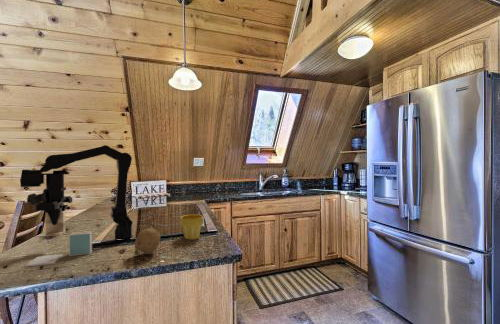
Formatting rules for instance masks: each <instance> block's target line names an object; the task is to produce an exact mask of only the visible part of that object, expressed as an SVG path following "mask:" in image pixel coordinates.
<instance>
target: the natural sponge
mask: <svg viewBox="0 0 500 324" xmlns="http://www.w3.org/2000/svg"><path fill="white" fill-rule="evenodd" d="M138 233H139V234H138V235H137V237H136V239H135V241H134V248H135V249H136V250H138V251H140V252H143V253H144V254H146V255H148V256H149V255H152V254H153V253H155V252H156V250H157V249H158V246H159V245H160V241H161V235H160V232H159V231H158V230H156V229H155V228H145V229H143V230H141V231H140V232H138Z"/></svg>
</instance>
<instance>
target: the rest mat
mask: <svg viewBox="0 0 500 324" xmlns="http://www.w3.org/2000/svg"><path fill="white" fill-rule="evenodd" d="M63 255H64V254H63V253H62V254H52V255H43V256H42V255H40V256H36V257H35V258H34V259H32V260H31V261H30V262H28V263H27V264H25V267H26V268H27V267H36V266H45V265H54V264H56V262H58V260H60V259H61V258H62V257H63Z"/></svg>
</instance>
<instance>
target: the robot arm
mask: <svg viewBox="0 0 500 324" xmlns="http://www.w3.org/2000/svg"><path fill="white" fill-rule="evenodd" d="M103 155H105V156H107V157H109V158H111V159H114V160H115V161H116V168H117V182H116V194H115V195H116V197H115V203H114V206H112V205H110V214H109V216H110V217H111V219H112V221H113V223H115V224H116V226H115V230H114V239H115V240H116V239H130V238H133V236H134V235H133V221H132V219H131V218H130V217H128V211H127V207H126V197H127V196H126V195H127V184H128V175H129V174H128V173H129V170H130V167H131V164H132V162H133V161H132V160H133V158H132V155H131V154H130V153H128V152H121V151H119V150H116V149H115V148H113V147H111V146H109V145H106V144H105V145H102V146H99V147H94V148H89V149H86V150H80V151H77V152H72V153H61V154H60V153H59V154H51V155H48V156H47V157H46V159H45V161H44V163H45V164H44V165H43V166H41V167H40V168H39V169H22V170H21V174H20V179H19V182H20V188H38V187H41V186H42V185H44V184H45V183H46V184H45V187H46V188H44V189H43V190H42V193H40V194H36V193H31V194H28V195H27V198H26V202H27V203H29V204H30V206H34V210H35V212H45V213H48V215H49V217H50V219H51V222H52V224H53V225H56V224H57V221H58V219H59V216H60V213H61V211H65V212H66V210H67V208H68V206H69V205H68V204H72V203H73V197H72V196H71V195H68V196H67V195H65V191H67V188H66V187H65V175H69V174H70V172H69V171H67V169H66V168H63V167H65V166H67V165H70V164H72V163H75V162H79V161H83V160H86V159H87V160H88V159H91V158H95V157H98V156H103ZM61 168H63V169H61ZM60 169H61V170H60ZM51 170H53V171H52V172H49V171H51ZM47 172H49V173H47ZM65 203H66V204H65ZM67 203H68V204H67Z"/></svg>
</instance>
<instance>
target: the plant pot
mask: <svg viewBox="0 0 500 324" xmlns="http://www.w3.org/2000/svg"><path fill="white" fill-rule="evenodd" d="M203 224H204V216H203V214H202V215H201V214H187V215H186V214H185V215H182V216H181V217H180V225H181V227H182V230H183V231H182V232H183V237H184V239H186V240H197V239H199V238H200V233H201V229H202V225H203Z"/></svg>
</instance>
